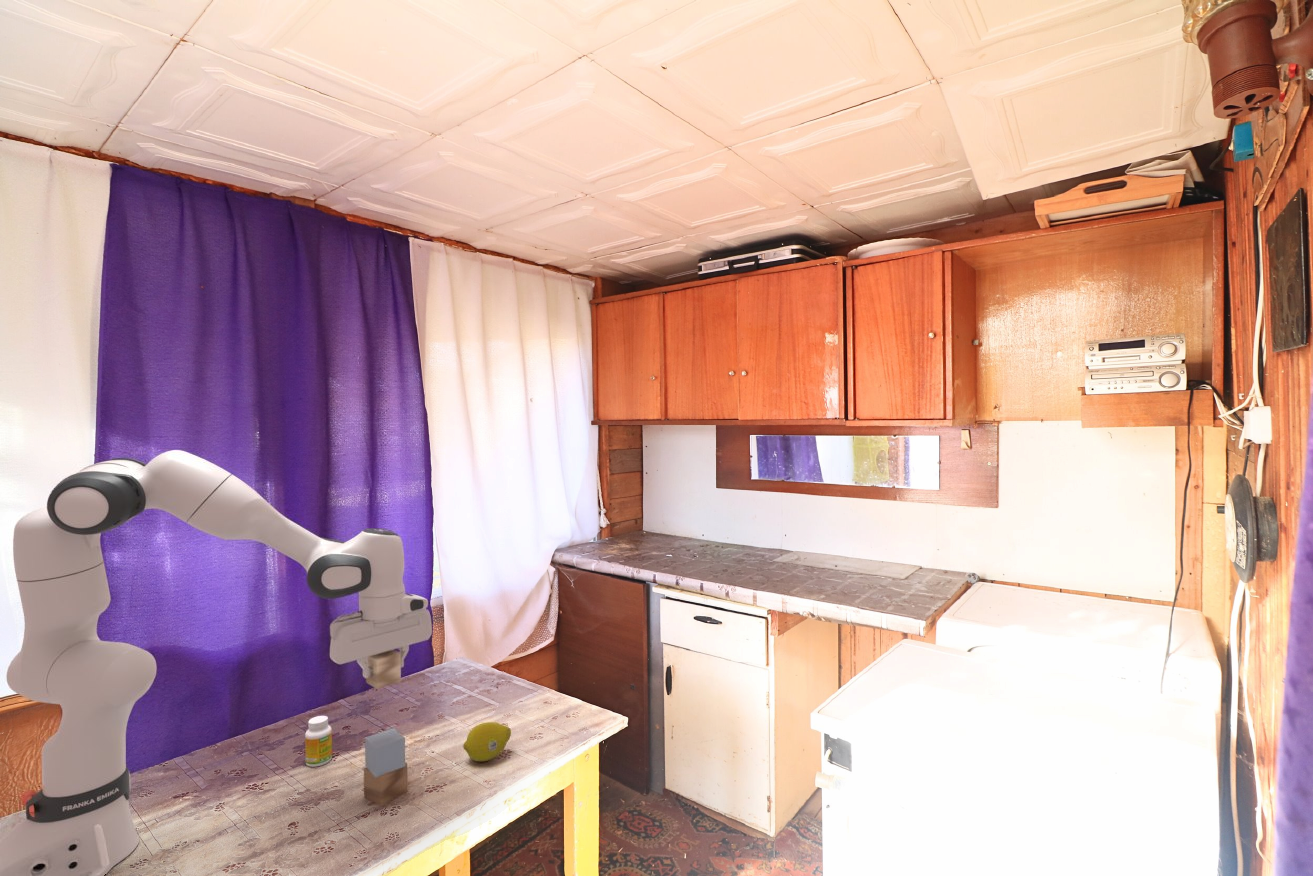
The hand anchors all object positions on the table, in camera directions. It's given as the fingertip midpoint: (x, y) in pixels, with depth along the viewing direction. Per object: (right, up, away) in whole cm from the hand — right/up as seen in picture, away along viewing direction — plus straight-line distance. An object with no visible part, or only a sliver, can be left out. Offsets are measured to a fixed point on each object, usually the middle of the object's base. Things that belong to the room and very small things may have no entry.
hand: (383, 672), depth 129 cm
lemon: (+18, -26, +14) cm, 34 cm away
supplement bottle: (-21, -26, +14) cm, 36 cm away
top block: (0, -20, 0) cm, 20 cm away
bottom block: (0, -26, 0) cm, 26 cm away
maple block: (0, -2, 0) cm, 2 cm away
